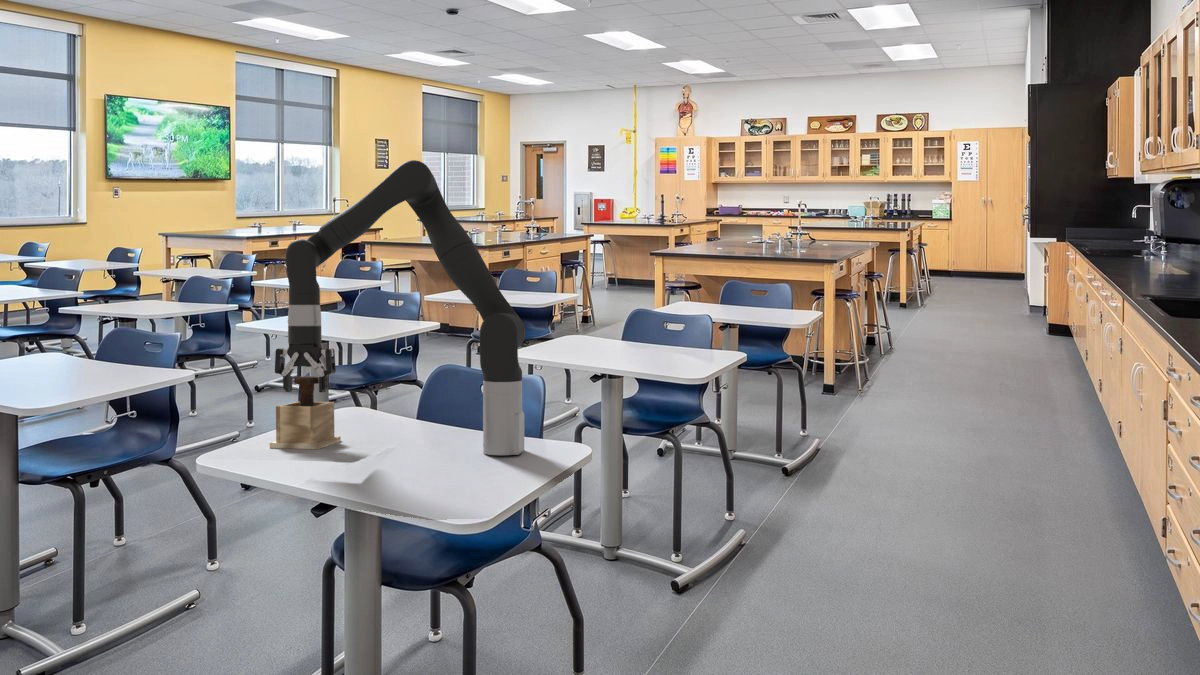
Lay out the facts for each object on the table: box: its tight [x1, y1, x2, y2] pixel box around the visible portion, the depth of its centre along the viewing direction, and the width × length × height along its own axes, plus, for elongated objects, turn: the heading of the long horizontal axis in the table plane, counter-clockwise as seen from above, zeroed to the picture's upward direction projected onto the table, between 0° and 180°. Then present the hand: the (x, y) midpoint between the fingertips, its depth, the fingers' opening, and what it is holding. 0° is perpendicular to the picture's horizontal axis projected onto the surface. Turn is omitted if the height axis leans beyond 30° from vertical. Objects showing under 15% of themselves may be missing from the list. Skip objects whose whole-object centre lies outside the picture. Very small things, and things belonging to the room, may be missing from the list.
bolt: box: [293, 375, 319, 406], centre depth 207 cm, size 6×5×15 cm
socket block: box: [269, 401, 342, 450], centre depth 207 cm, size 12×12×10 cm
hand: (305, 392), depth 207 cm, fingers open, 8 cm apart
